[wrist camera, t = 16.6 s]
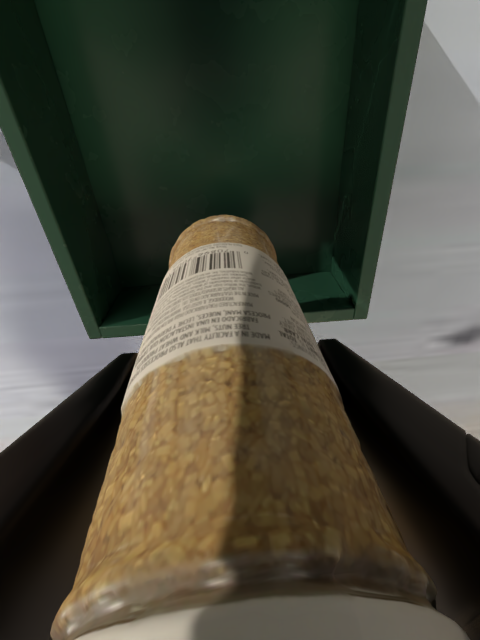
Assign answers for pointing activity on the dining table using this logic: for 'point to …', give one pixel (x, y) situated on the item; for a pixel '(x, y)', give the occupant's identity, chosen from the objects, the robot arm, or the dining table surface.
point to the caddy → (207, 137)
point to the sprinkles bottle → (240, 477)
